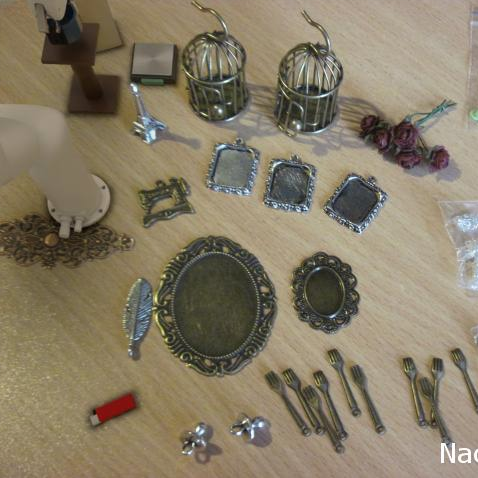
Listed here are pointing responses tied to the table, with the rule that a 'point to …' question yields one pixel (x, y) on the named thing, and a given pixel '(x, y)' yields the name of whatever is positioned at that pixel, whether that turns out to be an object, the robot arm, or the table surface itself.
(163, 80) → the scale
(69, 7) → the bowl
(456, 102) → the table surface
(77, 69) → the stand
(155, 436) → the table surface
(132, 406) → the lighter
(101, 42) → the beige tall block
